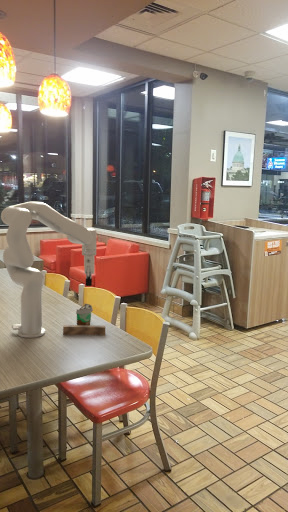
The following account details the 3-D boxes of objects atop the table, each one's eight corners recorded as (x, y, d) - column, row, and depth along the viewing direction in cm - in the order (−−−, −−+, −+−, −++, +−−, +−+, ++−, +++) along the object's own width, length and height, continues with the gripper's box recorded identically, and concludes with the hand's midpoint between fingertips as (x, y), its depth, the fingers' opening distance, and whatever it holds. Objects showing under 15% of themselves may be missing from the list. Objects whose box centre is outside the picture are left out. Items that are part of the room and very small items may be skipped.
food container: (87, 330, 194) (88, 311, 192) (75, 329, 195) (76, 309, 194) (95, 322, 206) (96, 304, 204) (84, 321, 207) (84, 303, 206)
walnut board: (63, 334, 187) (63, 326, 186) (63, 332, 189) (63, 325, 188) (105, 335, 188) (105, 327, 188) (105, 333, 191) (105, 325, 190)
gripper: (95, 254, 201) (95, 289, 204) (96, 250, 215) (96, 282, 218) (80, 254, 200) (80, 289, 203) (83, 249, 215) (82, 282, 218)
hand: (88, 285), depth 211 cm, fingers closed
